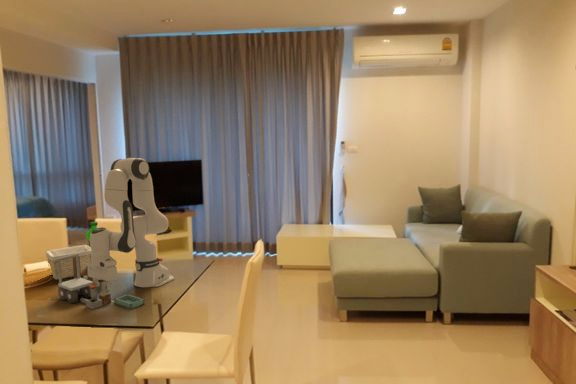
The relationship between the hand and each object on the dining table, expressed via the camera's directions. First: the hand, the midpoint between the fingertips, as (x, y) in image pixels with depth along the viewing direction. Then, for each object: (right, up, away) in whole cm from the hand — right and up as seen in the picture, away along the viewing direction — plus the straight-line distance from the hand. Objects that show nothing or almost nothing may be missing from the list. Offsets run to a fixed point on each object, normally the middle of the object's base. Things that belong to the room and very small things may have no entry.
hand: (102, 287), depth 240 cm
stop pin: (-3, -8, -3) cm, 9 cm away
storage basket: (-37, -1, +48) cm, 61 cm away
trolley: (-11, -7, +4) cm, 14 cm away
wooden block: (-19, -5, +24) cm, 31 cm away
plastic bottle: (-34, +3, +77) cm, 84 cm away
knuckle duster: (-18, -3, +42) cm, 45 cm away
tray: (+13, -8, 0) cm, 15 cm away
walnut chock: (0, -8, +2) cm, 8 cm away
